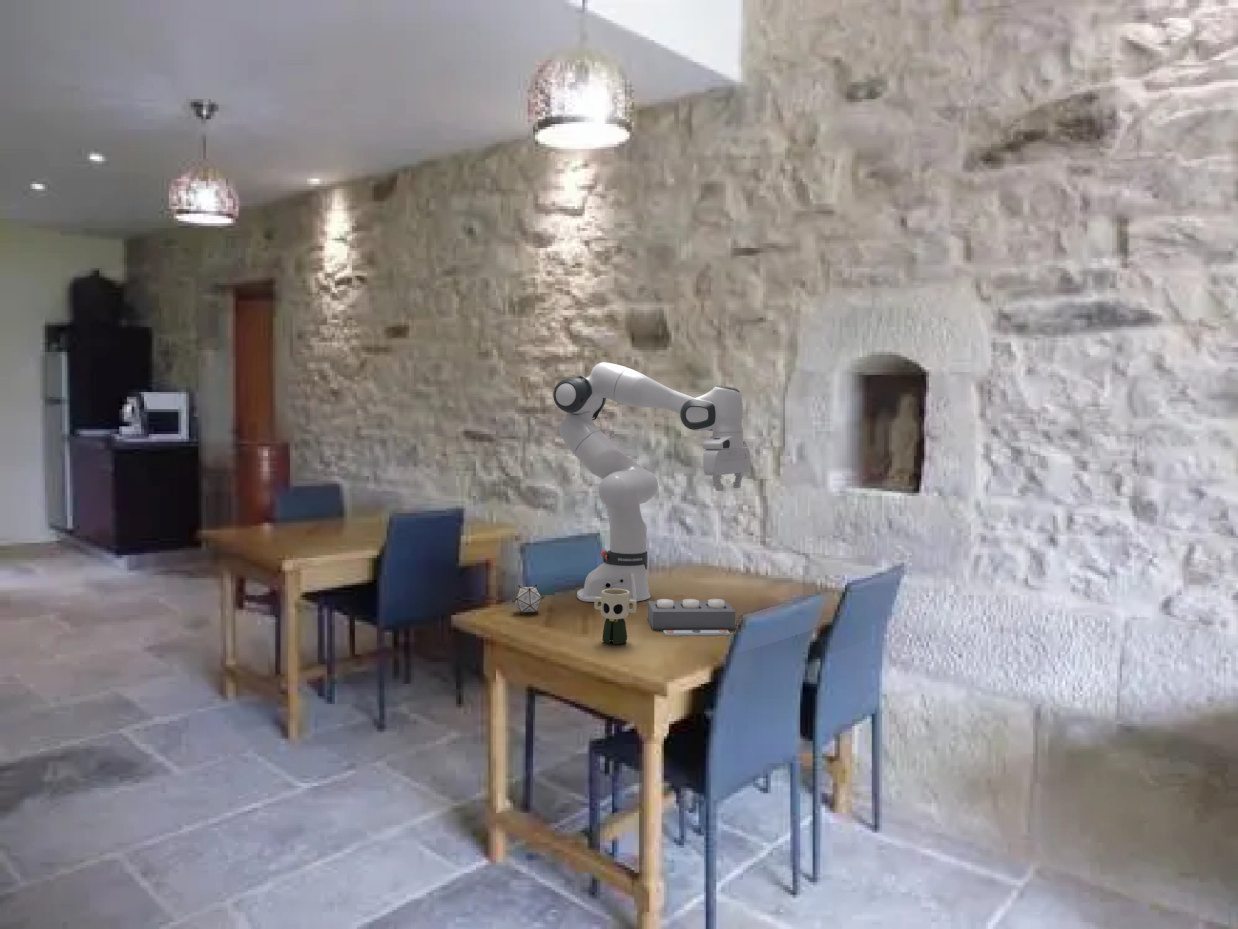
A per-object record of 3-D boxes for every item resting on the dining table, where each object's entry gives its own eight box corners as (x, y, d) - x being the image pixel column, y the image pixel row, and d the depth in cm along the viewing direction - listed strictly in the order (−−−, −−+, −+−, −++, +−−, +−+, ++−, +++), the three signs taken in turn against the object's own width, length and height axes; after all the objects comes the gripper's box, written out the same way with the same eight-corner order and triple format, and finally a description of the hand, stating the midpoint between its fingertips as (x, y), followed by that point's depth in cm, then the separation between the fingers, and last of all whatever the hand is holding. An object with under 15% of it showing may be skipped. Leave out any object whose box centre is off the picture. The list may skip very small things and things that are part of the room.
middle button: (683, 613, 240) (684, 602, 240) (681, 609, 244) (681, 599, 244) (700, 613, 240) (700, 602, 240) (697, 609, 245) (697, 598, 244)
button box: (652, 630, 236) (653, 611, 235) (647, 619, 247) (647, 601, 247) (735, 630, 238) (735, 611, 237) (725, 618, 249) (726, 601, 249)
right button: (709, 613, 240) (709, 602, 240) (706, 609, 245) (706, 598, 245) (725, 613, 241) (726, 602, 241) (722, 609, 245) (722, 598, 245)
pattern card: (664, 635, 231) (664, 632, 231) (663, 632, 234) (663, 629, 234) (729, 635, 232) (729, 632, 232) (727, 632, 235) (727, 629, 235)
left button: (658, 613, 239) (658, 602, 239) (655, 609, 244) (656, 599, 243) (674, 613, 240) (674, 602, 239) (671, 609, 244) (672, 599, 244)
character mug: (589, 644, 222) (590, 592, 221) (597, 637, 229) (598, 586, 228) (632, 648, 219) (633, 596, 218) (639, 640, 226) (640, 590, 225)
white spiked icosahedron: (520, 626, 252) (500, 597, 252) (542, 611, 257) (523, 582, 258) (533, 617, 245) (512, 587, 246) (555, 602, 250) (535, 572, 251)
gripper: (737, 440, 269) (738, 486, 270) (699, 443, 254) (699, 491, 255) (755, 440, 265) (756, 487, 266) (717, 443, 250) (718, 492, 251)
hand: (728, 489), depth 260 cm, fingers open, 8 cm apart
